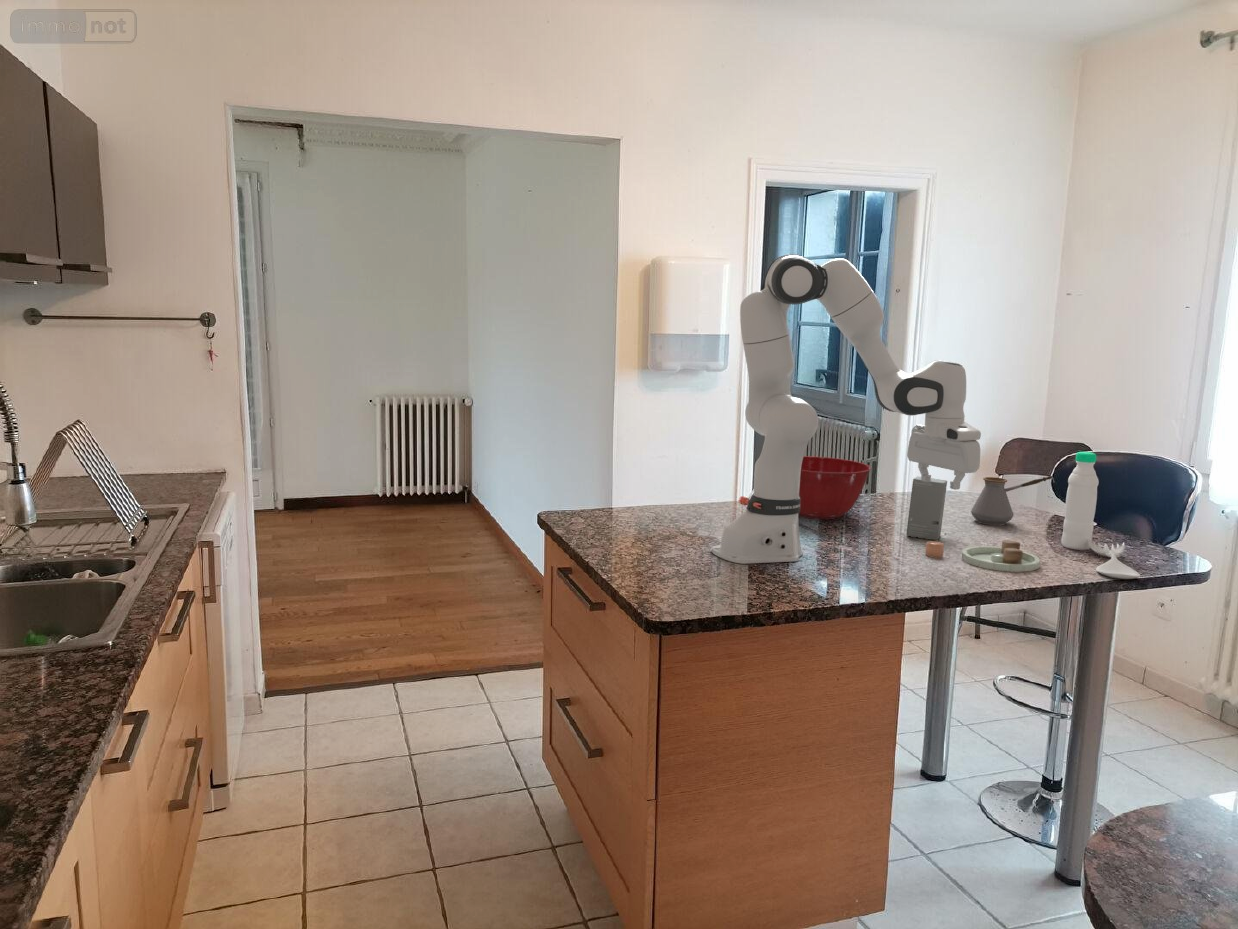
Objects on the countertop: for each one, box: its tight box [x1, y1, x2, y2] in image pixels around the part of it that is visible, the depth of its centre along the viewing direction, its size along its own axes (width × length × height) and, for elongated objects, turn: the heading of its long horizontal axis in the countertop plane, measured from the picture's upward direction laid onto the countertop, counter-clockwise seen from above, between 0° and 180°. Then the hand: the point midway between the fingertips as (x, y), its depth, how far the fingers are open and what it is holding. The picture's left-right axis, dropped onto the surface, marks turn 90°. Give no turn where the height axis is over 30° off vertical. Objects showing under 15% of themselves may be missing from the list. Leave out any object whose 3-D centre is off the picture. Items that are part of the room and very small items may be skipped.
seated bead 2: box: [1003, 548, 1023, 564], centre depth 212 cm, size 4×4×4 cm
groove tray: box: [961, 545, 1041, 573], centre depth 216 cm, size 17×17×2 cm
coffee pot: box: [970, 475, 1055, 526], centre depth 260 cm, size 21×12×15 cm, turn 71°
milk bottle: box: [1060, 451, 1100, 551], centre depth 234 cm, size 7×7×25 cm
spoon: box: [1087, 539, 1142, 580], centre depth 217 cm, size 9×32×4 cm, turn 158°
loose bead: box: [925, 540, 945, 558], centre depth 221 cm, size 4×4×4 cm
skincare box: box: [906, 476, 948, 541], centre depth 243 cm, size 8×7×16 cm
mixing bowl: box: [798, 455, 872, 520], centre depth 267 cm, size 28×28×16 cm
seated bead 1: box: [1001, 539, 1021, 554], centre depth 219 cm, size 4×4×4 cm
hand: (940, 485), depth 219 cm, fingers open, 8 cm apart
